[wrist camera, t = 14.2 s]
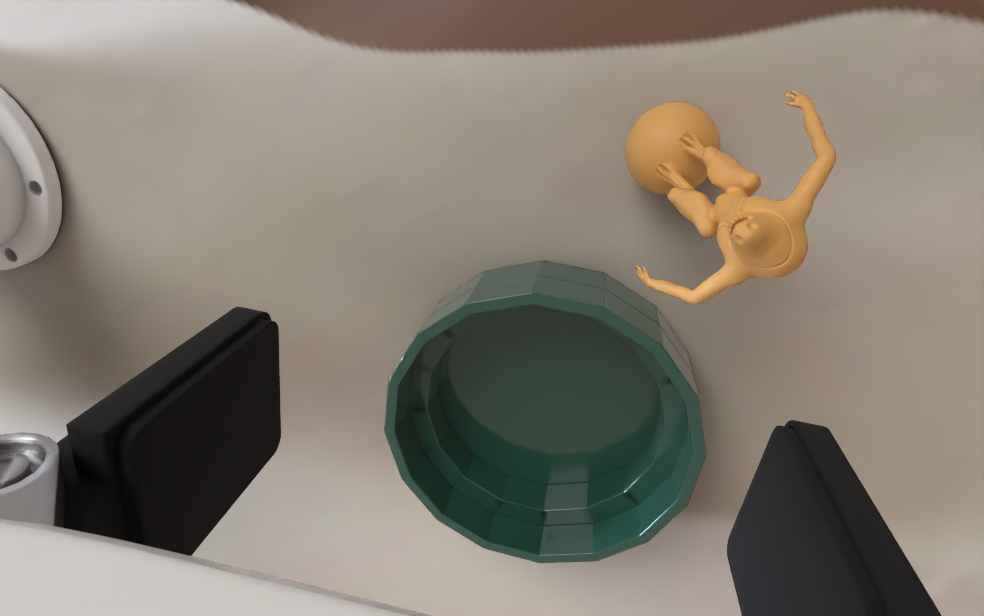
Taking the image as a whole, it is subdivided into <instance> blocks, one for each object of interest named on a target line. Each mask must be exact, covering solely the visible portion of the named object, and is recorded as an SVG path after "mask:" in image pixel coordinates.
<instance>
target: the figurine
mask: <svg viewBox="0 0 984 616" xmlns="http://www.w3.org/2000/svg"><path fill="white" fill-rule="evenodd" d="M792 93H793V94H794V95H795V96H794V95H791V94H789V93H784V95H786V96H787V97H789V98H790V99H791V100H793V101H794V102H789V101H785V103H786V104H787V105H790V106H793V107H798V108H801V109H802V110H803V119H804V125H805V129H806V132H807V134H808V136H809V138H810V139H811V142H812V146H813V150H814V152H815V154H816V156H817V159H816V161H815V162H814V163H813V164H812V166H811V167H810V168H809V169H808V171H807V172H806V174H805V175H804V176H803V178H802V179H801V181H800V182H799V184H798V185H797V187H796V188H795V190H794V191H793V193H792V194H791V195H790V196H789V197H788V198H787V199H785V200H782V201H776V200H772V199H769V198H767V197H764V196H751V195H752V194H753V193H755V192H756V191H757V190H758V189H759V187H760V185H761V180H760V177H759V176H758V175H757V174H755V173H752V172H750V171H747V170H746V169H744V168H743V167H742V166H741V165H740V164H739V163H738V162H737V161H736V160H735V159H734V158H733V157H731V156H730V155H728V154H726V153H724V152H722V151H720V139H719V134H718V131H717V128H716V126H715V124H714V122H713V121H712V119H711V118H710V117H709V116H708V115H707V114H706V113H705V112H704V111H703V110H701V109H700V108H698V107H696V106H694V105H692V104H688V103H684V102H669V103H664V104H661V105H658V106H656V107H654V108H652V109H650V110H649V111H647V112H646V113H644V114H643V115H642V116H641V117H640V118H639V119H638V120H637V122H636V123H635V124H634V126H633V127H632V129H631V131H630V133H629V136H628V139H627V143H626V161H627V165H628V168H629V171H630V173H631V174H632V176H633V178H634V179H635V180H636V181H637V182H638V183H639V184H640V185H641V186H642V187H644V188H645V189H647V190H649V191H651V192H653V193H656V194H660V195H668V199H669V200H670V202H672V203H673V204H674V205H675V207H676V208H677V209H678V211H679V212H680V213H681V214H682V215H683V216H684V217H685V218H687V219H688V220H689V221H691V222H692V223H693V224H695V226H696V228H697V229H698V231H699V233H700V235H701V236H702V237H704V238H712V237H714V236H716V235H717V241H718V244H719V246H720V248H721V251H722V253H723V255H724V258H725V264H724V266H723V267H722V268H721V269H720V270H719V271H717V272H716V273H715V274H713V275H712V276H710V277H709V278H708V279H707V280H705V281H704V282H703V283H701V284H700V285H699V286H698V287H697V288H696V289H694V290H691V289H689V288H688V287H684V286H679V285H677V284H675V283H673V282H670V281H666V280H654V279H652V278H651V277H650V276H649V274H648V272H647V270H646V268H645V267H644V266H642V268H643V271H644V272H643V271H642V270H641V269H640V268H639V267H638V266H636V267H637V269H638V270H637V274H638V276H639V277H640V278H641V280H642V281H643V282H644V283H645V284H646V285H647V286H648V287H650V288H654V289H656V290H658V291H660V292H662V293H666V294H669V295H672V296H676V297H678V298H680V299H682V300H684V301H685V302H687V303H690V304H699V303H702V302H704V301H706V300H708V299H710V298H712V297H713V296H715V295H717V294H719V293H720V292H722V291H723V290H725V289H726V288H728V287H730V286H734V285H737V284H740V283H742V282H744V281H746V280H748V279H750V278H753V277H763V278H779V277H783V276H786V275H788V274H790V273H792V272H793V271H795V270H796V269H797V268H798V267H799V266H800V265H801V264H802V262H803V260H804V258H805V256H806V253H807V249H808V240H807V235H806V231H805V222H806V220H807V218H808V216H809V214H810V212H811V209H812V205H813V202H814V199H815V197H816V196H817V194H818V192H819V191H820V189H821V188H822V186H823V184H824V182H825V181H826V179H827V177H828V175H829V173H830V172H831V170H832V168H833V165H834V163H835V160H836V153H835V150H834V148H833V146H832V144H831V143H830V141H829V140H828V138H827V136H826V133H825V130H824V128H823V125H822V122H821V119H820V117H819V116H818V114H817V113H816V111H815V107H814V104H813V102H812V101H811V100H810V98H809V97H808V96H806V95H805V94H803V93H798V92H796V91H792ZM707 177H708V178H709V180H710V181H711V182H712V183H713V184H714V185H715V186H717V187H718V188H720V189H723V190H724V191H725V193H724V194H721V195H719V196H718V197H717V199H716V202H715V205H713V204H712V203H711V201H710V200H709V198H708V197H707V196H706V195H705V194H703V193H701V192H699V191H696V190H695V189H694V188H696V187H697V186H699V185H700V184H701V183H702V182H703V181H705V180H706V178H707Z"/></svg>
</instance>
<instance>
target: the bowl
mask: <svg viewBox="0 0 984 616" xmlns="http://www.w3.org/2000/svg"><path fill="white" fill-rule="evenodd" d="M384 430H385V434H386V437H387V440H388V443H389V445H390V448H391V451H392V454H393V456H394V459H395V462H396V465H397V467H398V470H399V473H400V475H401V478H402V480H403V481H404V482H405V483H406V485H407V486H408V487H409V488H410V489H411V490H412V491H413V493H414V494H415V495H416V496H417V497H418V498H419V500H420V501H421V502H422V503H423V504H424V505H425V506H426V508H427V509H428V510H429V511H430V512H431V513H432V515H433V516H434V517H435V518H436V519H437V520H438V521H440V522H441V523H443V524H445V525H446V526H448V527H450V528H451V529H453V530H455V531H456V532H458V533H460V534H461V535H463V536H464V537H466V538H468V539H469V540H471V541H473V542H474V543H476V544H478V545H479V546H481V547H483V548H485V549H488V550H492V551H496V552H500V553H503V554H507V555H511V556H515V557H519V558H522V559H526V560H530V561H534V562H538V563H539V562H540V563H557V562H587V561H598V560H601V559H604V558H606V557H609V556H612V555H614V554H617V553H620V552H622V551H625V550H628V549H630V548H633V547H636V546H638V545H641V544H644V543H646V542H648V541H650V540H651V539H652V538H653V537H654V536H655V535H656V534H657V533H658V532H659V531H660V530H661V529H662V528H664V527H665V526H666V525H667V524H668V523H669V522H670V521H671V520H672V519H673V518H674V517H675V516H677V515H678V514H679V513H680V512H681V511H682V510H683V509H684V508H685V507H686V506H687V505H688V503H689V500H690V497H691V495H692V492H693V489H694V487H695V484H696V481H697V479H698V476H699V474H700V471H701V468H702V466H703V463H704V460H705V458H706V447H705V440H704V433H703V426H702V418H701V411H700V404H699V398H698V393H697V389H696V385H695V381H694V377H693V372H692V368H691V364H690V360H689V356H688V352H687V351H686V349H685V348H684V346H683V345H682V343H681V342H680V341H679V339H678V338H677V336H676V335H675V333H674V332H673V330H672V329H671V327H670V326H669V324H668V323H667V321H666V320H665V318H664V317H663V315H662V314H661V312H660V311H659V309H658V308H657V307H656V306H655V305H654V304H652V303H650V302H649V301H647V300H646V299H644V298H643V297H641V296H640V295H638V294H637V293H635V292H633V291H632V290H630V289H629V288H627V287H626V286H624V285H623V284H621V283H620V282H618V281H616V280H615V279H613V278H612V277H610V276H609V275H607V274H605V273H604V272H599V271H594V270H589V269H584V268H579V267H574V266H569V265H564V264H559V263H554V262H549V261H538V262H532V263H527V264H521V265H515V266H510V267H504V268H498V269H493V270H487V271H484V272H483V273H481V274H480V275H478V276H477V277H475V278H474V279H472V280H471V281H469V282H468V283H466V284H464V285H463V286H461V287H460V288H458V289H457V290H455V291H454V292H452V293H451V294H449V295H448V296H446V297H445V298H443V299H441V301H440V302H439V303H438V305H437V306H436V307H435V309H434V310H433V312H432V313H431V314H430V316H429V317H428V319H427V320H426V322H425V323H424V324H423V326H422V327H421V329H420V330H419V331H418V333H417V334H416V336H415V337H414V339H413V341H412V342H411V344H410V345H409V347H408V349H407V350H406V352H405V354H404V355H403V357H402V358H401V360H400V362H399V363H398V365H397V367H396V368H395V370H394V372H393V373H392V375H391V376H390V378H389V381H388V389H387V402H386V415H385V427H384Z"/></svg>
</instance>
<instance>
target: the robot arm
mask: <svg viewBox="0 0 984 616" xmlns="http://www.w3.org/2000/svg"><path fill="white" fill-rule="evenodd" d="M61 216H62V196H61V189H60V182H59V178H58V175H57V171H56V168H55V165H54V162H53V159H52V157H51V155H50V153H49V150H48V148H47V146H46V144H45V142H44V140H43V138H42V137H41V135H40V134H39V132H38V130H37V129H36V127H35V125H34V124H33V122H32V121H31V120H30V118H29V117H28V116H27V115H26V113H25V112H24V111H23V110H22V109H21V107H20V106H19V105H18V104H17V102H16V101H15V100H14V99H12V98H11V97H10V96H9V95H8V94H7V93H6V92H5V91H4V90H3V89H2V88H1V87H0V270H7V269H12V268H16V267H19V266H22V265H25V264H28V263H30V262H32V261H34V260H36V259H37V258H39V257H41V256H42V255H43V254H44V253H45V252H46V251H47V250H48V249H49V248H50V247H51V245H52V243H53V241H54V240H55V238H56V236H57V234H58V230H59V226H60V223H61ZM66 426H67V431H68V435H67V436H66V437H65V438H63V439H62V440H60V441H59V442H58V443H56V442H54V441H53V440H52V439H51V438H49V437H46V436H43V435H40V434H35V433H12V434H3V435H0V616H430V615H426V614H423V613H419V612H415V611H411V610H407V609H403V608H399V607H395V606H391V605H387V604H383V603H379V602H375V601H371V600H367V599H363V598H359V597H355V596H351V595H347V594H343V593H339V592H335V591H331V590H327V589H323V588H319V587H314V586H310V585H306V584H302V583H298V582H294V581H290V580H286V579H282V578H278V577H274V576H270V575H266V574H262V573H258V572H253V571H249V570H245V569H241V568H237V567H233V566H229V565H225V564H221V563H217V562H213V561H209V560H205V559H201V558H197V557H193V556H191V555H192V554H193V553H194V552H195V550H196V549H197V548H198V547H199V545H200V544H201V543H202V542H203V541H204V539H205V538H206V537H207V536H208V534H209V533H210V532H211V531H212V529H213V528H214V527H215V526H216V525H217V523H218V522H219V521H220V520H221V518H222V517H223V516H224V515H225V514H226V512H227V511H228V510H229V509H230V507H231V506H232V505H233V504H234V502H235V501H236V500H237V499H238V498H239V496H240V495H241V494H242V493H243V491H244V490H245V489H246V488H247V487H248V485H249V484H250V483H251V482H252V480H253V479H254V478H255V477H256V475H257V474H258V473H259V472H260V471H261V469H262V468H263V467H264V466H265V464H266V463H267V462H268V461H269V460H270V458H271V457H272V456H273V455H274V453H275V452H276V450H277V448H278V445H279V442H280V438H281V420H280V376H279V331H278V325H277V323H276V322H274V321H271V318H270V315H269V314H268V313H267V312H262V311H257V310H253V309H248V308H243V307H236V308H233V309H232V310H231V311H229V312H228V313H226V314H225V315H223V316H222V317H220V318H219V319H218V320H216V321H215V322H213V323H212V324H210V325H209V326H208V327H206V328H205V329H203V330H202V331H200V332H199V333H197V334H196V335H195V336H193V337H192V338H190V339H189V340H187V341H186V342H185V343H183V344H182V345H180V346H179V347H177V348H176V349H174V350H173V351H172V352H170V353H169V354H167V355H166V356H164V357H163V358H162V359H160V360H159V361H157V362H156V363H154V364H153V365H151V366H150V367H149V368H147V369H146V370H144V371H143V372H141V373H140V374H139V375H137V376H136V377H134V378H133V379H131V380H130V381H129V382H127V383H126V384H124V385H123V386H121V387H120V388H118V389H117V390H116V391H114V392H113V393H111V394H110V395H108V396H107V397H106V398H104V399H103V400H101V401H100V402H98V403H97V404H95V405H94V406H93V407H91V408H90V409H88V410H87V411H85V412H84V413H83V414H81V415H80V416H78V417H77V418H75V419H74V420H72V421H71V422H70V423H68V424H67V425H66ZM727 556H728V561H729V565H730V569H731V573H732V577H733V581H734V585H735V589H736V593H737V597H738V601H739V605H740V609H741V613H742V616H941V614H940V612H939V611H938V609H937V607H936V606H935V604H934V602H933V601H932V599H931V598H930V596H929V594H928V593H927V591H926V589H925V588H924V586H923V584H922V583H921V581H920V579H919V578H918V576H917V574H916V573H915V571H914V569H913V568H912V566H911V564H910V563H909V561H908V559H907V558H906V556H905V554H904V553H903V551H902V549H901V548H900V546H899V545H898V543H897V541H896V540H895V538H894V536H893V535H892V533H891V531H890V530H889V528H888V526H887V525H886V523H885V521H884V520H883V518H882V516H881V515H880V513H879V511H878V510H877V508H876V506H875V505H874V503H873V501H872V500H871V498H870V496H869V495H868V493H867V492H866V490H865V488H864V487H863V485H862V483H861V482H860V480H859V478H858V477H857V475H856V473H855V472H854V470H853V468H852V467H851V465H850V463H849V462H848V460H847V458H846V457H845V455H844V453H843V452H842V450H841V448H840V447H839V445H838V443H837V442H836V440H835V439H834V437H833V435H832V434H831V432H830V430H829V429H828V428H827V427H824V426H819V425H814V424H809V423H804V422H799V421H795V420H791V421H788V423H787V424H786V425H785V426H784V427H783V426H776V428H775V429H774V430H773V432H772V434H771V437H770V439H769V442H768V444H767V446H766V449H765V451H764V454H763V456H762V458H761V461H760V463H759V466H758V468H757V471H756V473H755V475H754V478H753V480H752V483H751V485H750V487H749V490H748V492H747V495H746V497H745V500H744V502H743V504H742V507H741V509H740V512H739V514H738V516H737V519H736V521H735V524H734V526H733V528H732V531H731V533H730V536H729V539H728V545H727Z"/></svg>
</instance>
